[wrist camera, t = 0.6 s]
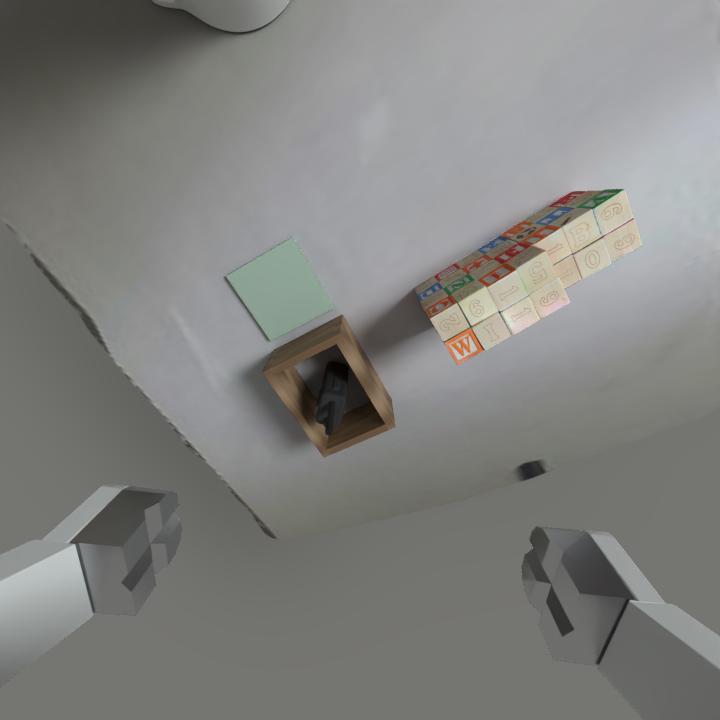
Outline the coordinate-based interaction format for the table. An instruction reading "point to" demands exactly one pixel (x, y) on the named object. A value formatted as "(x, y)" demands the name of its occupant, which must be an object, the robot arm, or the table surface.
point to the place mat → (280, 289)
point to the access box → (303, 402)
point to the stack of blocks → (527, 270)
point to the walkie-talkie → (332, 396)
